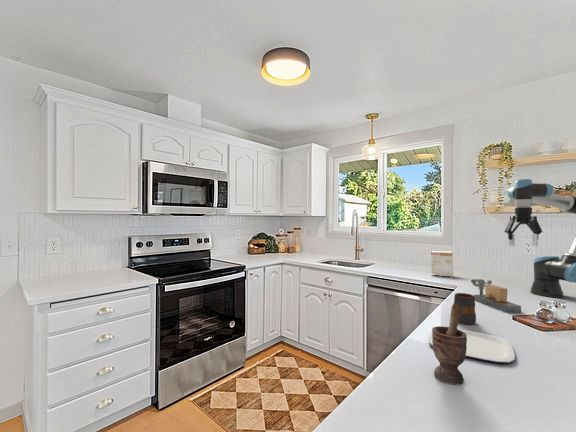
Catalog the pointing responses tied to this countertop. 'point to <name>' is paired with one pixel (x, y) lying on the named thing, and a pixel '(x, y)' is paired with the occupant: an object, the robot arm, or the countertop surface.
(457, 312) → the mortar and pestle
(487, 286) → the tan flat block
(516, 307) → the rail
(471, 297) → the mug
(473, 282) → the mechanical component
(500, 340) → the plate
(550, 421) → the countertop surface
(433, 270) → the coffeecake box
